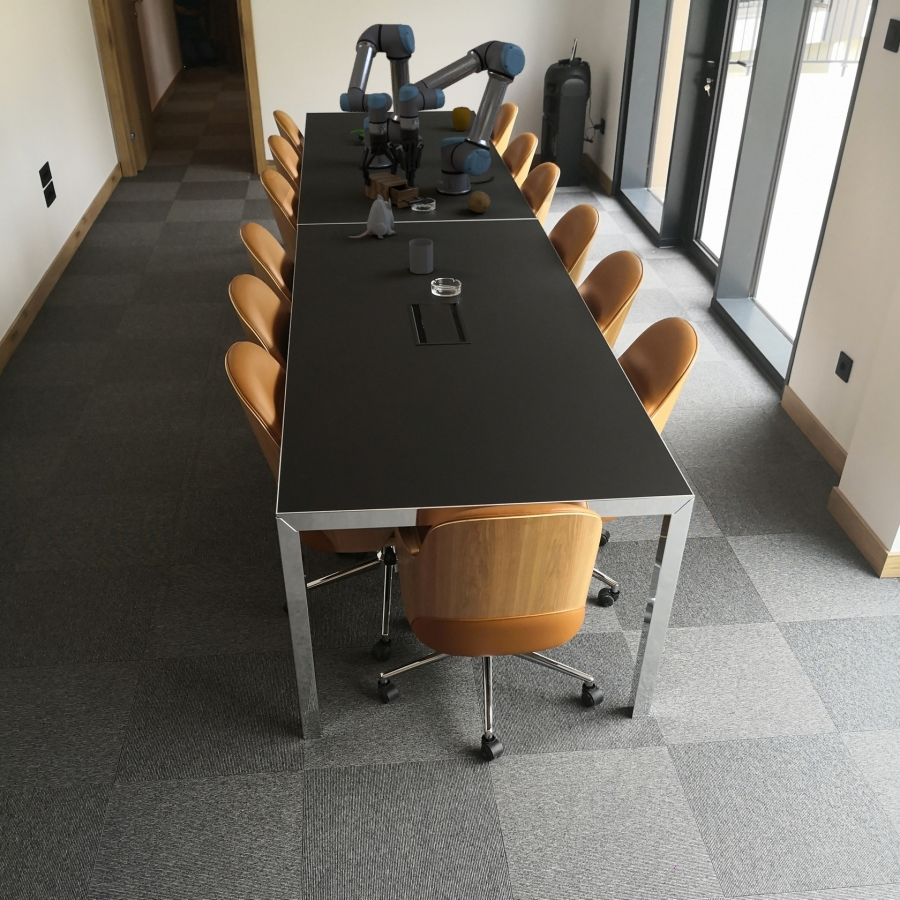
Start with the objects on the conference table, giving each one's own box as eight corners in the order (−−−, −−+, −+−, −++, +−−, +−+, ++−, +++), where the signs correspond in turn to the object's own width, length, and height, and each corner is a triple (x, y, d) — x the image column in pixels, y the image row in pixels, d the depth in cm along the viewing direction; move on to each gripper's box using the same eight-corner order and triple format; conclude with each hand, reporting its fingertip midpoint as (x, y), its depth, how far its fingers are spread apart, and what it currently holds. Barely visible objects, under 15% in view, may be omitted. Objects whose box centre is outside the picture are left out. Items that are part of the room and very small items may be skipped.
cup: (409, 265, 311) (408, 238, 306) (432, 265, 312) (431, 238, 307) (410, 274, 304) (409, 246, 299) (433, 273, 305) (433, 246, 299)
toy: (401, 233, 341) (400, 195, 333) (356, 248, 326) (354, 209, 318) (385, 228, 346) (384, 190, 338) (340, 243, 331) (337, 204, 323)
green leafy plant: (404, 126, 468) (348, 124, 466) (404, 141, 461) (347, 139, 459) (404, 135, 473) (349, 133, 471) (404, 150, 466) (348, 148, 463)
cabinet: (408, 201, 378) (408, 180, 373) (387, 205, 372) (386, 185, 367) (386, 191, 390) (386, 171, 385) (365, 195, 384) (364, 175, 379)
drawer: (426, 207, 367) (425, 191, 363) (406, 211, 362) (406, 195, 358) (397, 194, 382) (397, 179, 378) (378, 198, 377) (378, 183, 373)
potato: (488, 206, 371) (488, 187, 367) (492, 216, 359) (492, 197, 355) (465, 206, 370) (465, 188, 366) (468, 217, 358) (468, 197, 354)
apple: (471, 132, 486) (471, 108, 479) (451, 132, 486) (451, 108, 479) (470, 128, 495) (471, 104, 488) (452, 128, 495) (452, 104, 488)
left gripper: (357, 138, 361) (360, 189, 373) (407, 130, 373) (408, 180, 385) (348, 135, 366) (351, 185, 378) (398, 127, 378) (399, 176, 390)
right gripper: (400, 131, 344) (402, 191, 357) (427, 127, 350) (428, 186, 363) (390, 128, 349) (392, 187, 362) (417, 124, 355) (418, 182, 368)
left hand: (380, 182), depth 381 cm, fingers open, 13 cm apart
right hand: (410, 186), depth 362 cm, fingers closed
